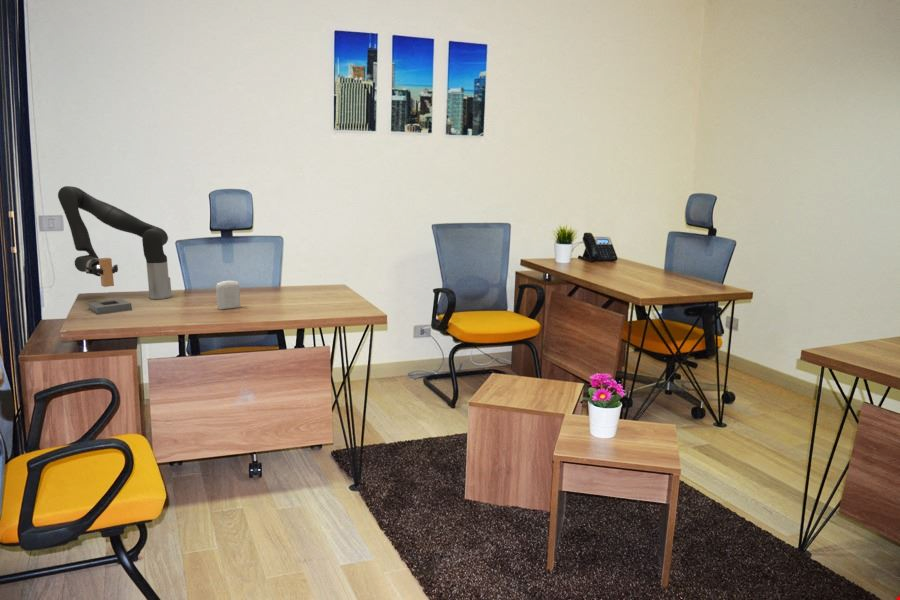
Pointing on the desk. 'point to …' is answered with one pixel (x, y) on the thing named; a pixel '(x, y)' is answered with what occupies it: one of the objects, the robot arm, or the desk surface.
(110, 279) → the bracket post
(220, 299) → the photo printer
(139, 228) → the robot arm
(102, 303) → the well stand
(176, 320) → the desk surface
